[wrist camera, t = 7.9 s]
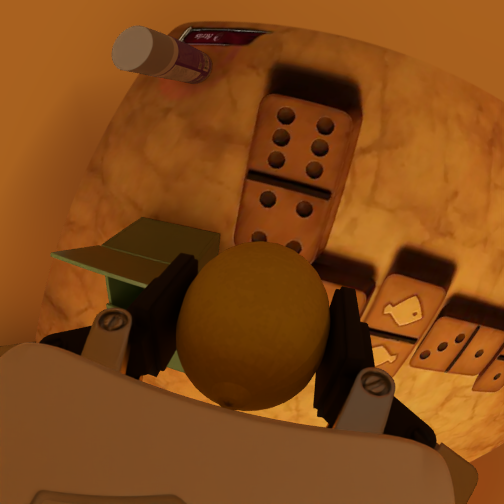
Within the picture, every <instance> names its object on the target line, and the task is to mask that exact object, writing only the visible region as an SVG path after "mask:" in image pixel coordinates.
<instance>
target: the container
mask: <svg viewBox="0 0 504 504" xmlns="http://www.w3.org/2000/svg"><path fill="white" fill-rule="evenodd" d="M112 60H113V62H114V64H115V66H116V67H117V68H119V69H120V70H124V71H129V72H135V73H140V74H145V75H149V76H154V77H160V78H166V79H171V80H176V81H181V82H186V83H191V84H196V83H200V82H202V81H204V80H205V79H206V78H207V77H208V76H209V74H210V73H211V70H212V61H211V59H210V57H209V56H208V55H207V54H205V53H203V52H202V51H200V50H198V49H196V48H194V47H192V46H190V45H188V44H185V43H183V42H181V41H179V40H177V39H175V38H173V37H171V36H168V35H165V34H163V33H160V32H157V31H155V30H152V29H149V28H146V27H143V26H133V27H130V28H128V29H126V30H125V31H123V32H122V33H121V34H120V35H119V37H118V38H117V39H116V41H115V43H114V45H113V49H112Z"/></svg>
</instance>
